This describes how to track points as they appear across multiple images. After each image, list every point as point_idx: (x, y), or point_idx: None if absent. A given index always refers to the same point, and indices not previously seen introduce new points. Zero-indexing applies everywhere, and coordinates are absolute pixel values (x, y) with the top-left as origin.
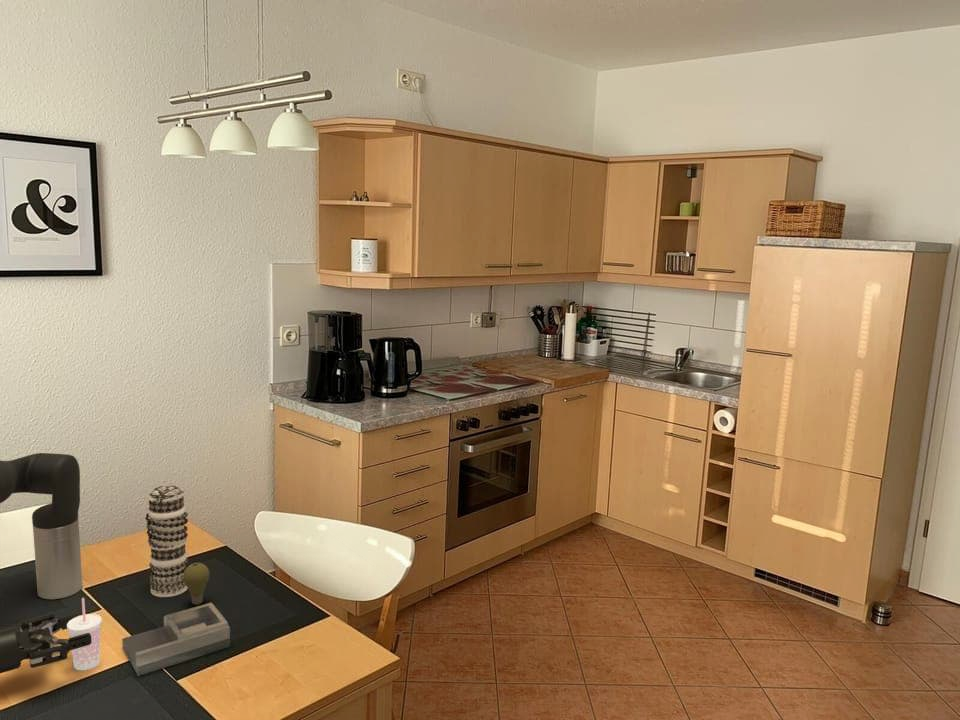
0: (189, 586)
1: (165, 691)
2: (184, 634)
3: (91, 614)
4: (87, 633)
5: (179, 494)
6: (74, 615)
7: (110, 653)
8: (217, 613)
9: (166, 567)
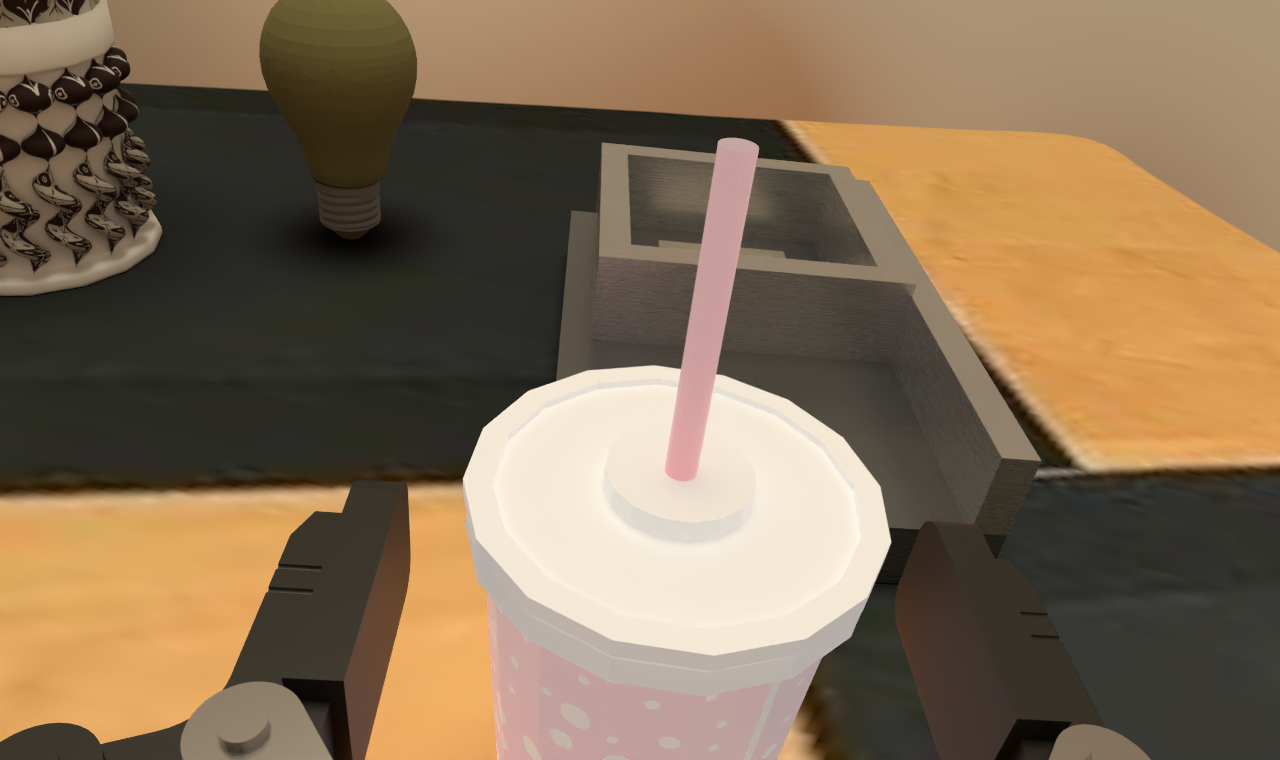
0: (368, 122)
1: (1191, 532)
2: (891, 263)
3: (530, 402)
4: (950, 531)
5: None
6: (352, 530)
7: None
8: None
9: (67, 71)
